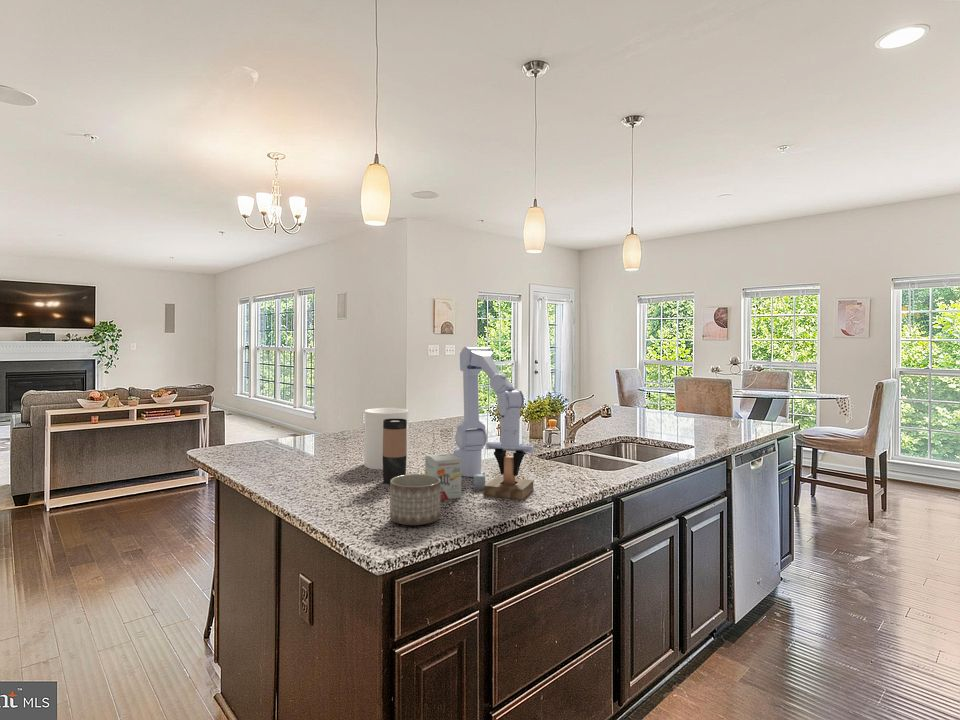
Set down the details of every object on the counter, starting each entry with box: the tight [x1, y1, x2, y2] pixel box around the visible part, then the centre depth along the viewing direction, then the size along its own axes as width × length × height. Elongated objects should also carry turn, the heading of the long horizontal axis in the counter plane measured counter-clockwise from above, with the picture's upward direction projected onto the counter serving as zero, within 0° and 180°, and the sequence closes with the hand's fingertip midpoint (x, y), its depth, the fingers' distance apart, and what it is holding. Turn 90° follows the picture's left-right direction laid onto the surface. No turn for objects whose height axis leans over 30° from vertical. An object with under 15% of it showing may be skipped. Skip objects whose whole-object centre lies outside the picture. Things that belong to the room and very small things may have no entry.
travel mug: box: [382, 419, 407, 485], centre depth 174 cm, size 8×8×20 cm
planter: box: [389, 473, 441, 526], centre depth 136 cm, size 13×13×10 cm
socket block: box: [483, 475, 534, 501], centre depth 163 cm, size 12×12×3 cm
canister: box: [363, 407, 410, 471], centre depth 198 cm, size 16×16×20 cm
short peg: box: [473, 474, 486, 491], centre depth 167 cm, size 4×4×4 cm
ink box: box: [424, 453, 462, 501], centre depth 159 cm, size 9×9×12 cm
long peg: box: [502, 455, 516, 485], centre depth 163 cm, size 4×4×8 cm
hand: (509, 474), depth 163 cm, fingers closed on long peg, 4 cm apart
